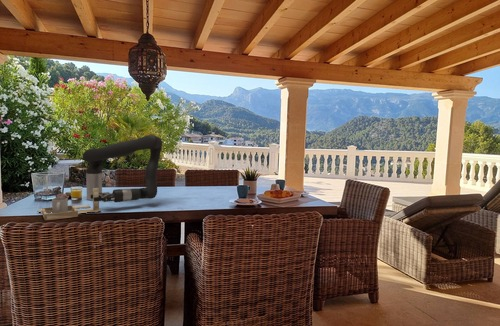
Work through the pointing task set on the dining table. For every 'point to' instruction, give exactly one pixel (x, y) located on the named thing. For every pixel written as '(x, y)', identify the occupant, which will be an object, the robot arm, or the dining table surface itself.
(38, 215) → the dining table surface
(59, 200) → the cup
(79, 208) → the broken strip
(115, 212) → the dining table surface
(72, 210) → the tan wooden stand
